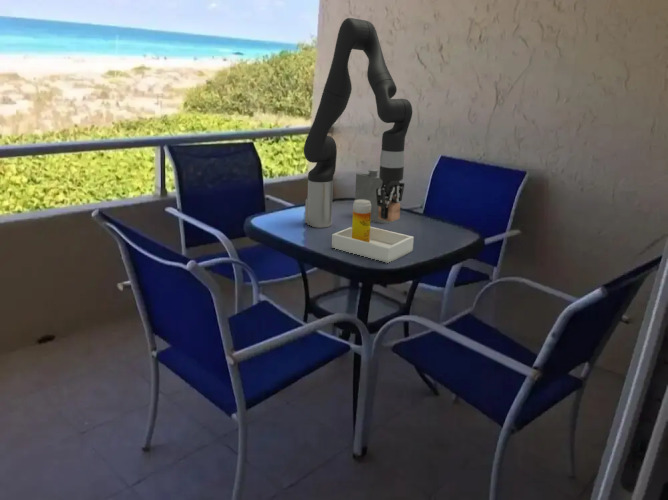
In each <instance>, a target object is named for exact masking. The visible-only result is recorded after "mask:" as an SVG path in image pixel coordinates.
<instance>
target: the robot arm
mask: <svg viewBox="0 0 668 500" xmlns="http://www.w3.org/2000/svg"><path fill="white" fill-rule="evenodd" d="M353 50H355V51H356V50H358V51H362V52H364V54H365V55H366V57H367V59H368V66H367V71H366V73H367V74H366V77H367V81H368V84H369V86H370V87H371V90H372V92H373V95H374V97H375V104H376V112H377V115H378V118H379V119H380V120H381V121H382V122H383V123H386V124H393V123H394V124H393V126H392V128H390V129H388V130H385V131H384V132H383V133H382V136H381V151H380V158H379V172H378V174H379V175H378V176H379V178H380V179H381V180H382V181H383V182H382V186H381V188H380V189H379V188H377V189H376V197H377V206H380V207H381V218H382V219H387V218H388V206H389V202H390V201H391V202H395V203H400V202H402V200H403V195H404V189H405V182H401V181H403V179H404V173H405V172H404V169H405V168H404V167H405V144H406V143H405V142H406V141H405V140H406V139H405V138H406V136H407V132H408V130H409V126H410V123H411V121H412V117H413V107H412V103H411V102H410V101H409V100H408V99H406V98H393V97H394V96H395V95H396V94H397V85H396V83H395V81H394V79H393V77H392V75H391V73H390V71H389V69H388V66H387V63H386V61H385V58H384V54H383V51H382V46H381V43H380V39H379V36H378V33H377V30H376V27H375V26H374V24H373V22H371V21H368V20H364V19H359V18H353V17H347V18H345V19H344V20H343V21H342V23H341V24H340V27H339V29H338V33H337V38H336V43H335V47H334V52H333V57H332V60H331V64H330V69H329V73H328V75H327V79H326V82H325V84H324V87H323V90H322V93H321V98H320V100H319V101H320V102H319V105H318V108H317V111H316V113H315V117H314V120H313V123H312V124H311V127H310V129H309V132H308V134H307V137H306V139H305V141H304V146H303V154H304V157H305V159H306V161H308V163H314V164H315V165H314V167H313V168H312V169H310V170H309V171H308V174H307V198H306V199H305V206H304V208H305V209H304V210H305V211H304V214H305V218H304V223H307V224H306V225H307V226H309V225H310V226H309V227H311V226H312V228H318V229H320V228H328V227H329V228H330V227H331V226H332V224H333V221H332V220H333V191H334V190H333V184H334V175H335V173H336V166H337V165H336V163H337V152H338V147H337V142H336V141H335V139H334V138H333V137H332V136H330V135H328V134H329V132H330V130H331V128H332V127H333V125H334V124H335V123H336V122H337V121H338V119H340V117H341V115H343V113H344V112H345V109H347V105H348V103H349V100H350V98H351V93H352V89H353V88H352V81H351V76H350V73H349V72H350V71H349V60H350V55H351V53H352V51H353ZM385 196H386V197H388V198H386V197H385ZM380 200H381V202H380ZM385 200H386V202H385Z"/></svg>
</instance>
